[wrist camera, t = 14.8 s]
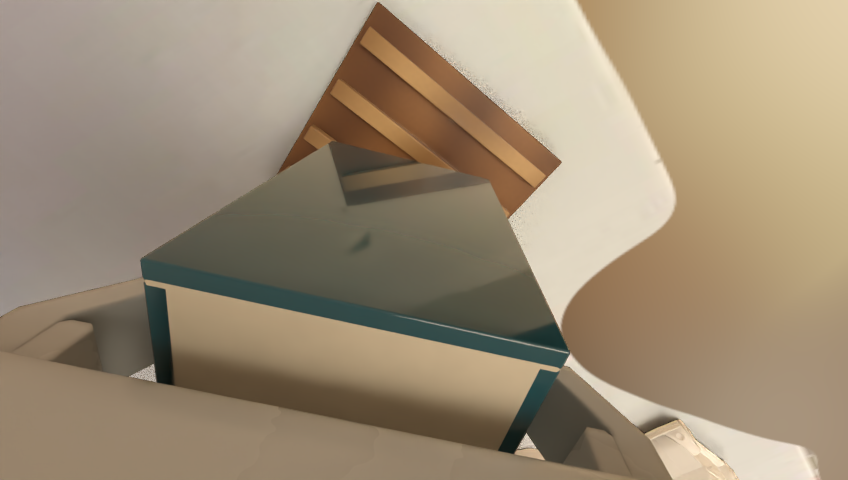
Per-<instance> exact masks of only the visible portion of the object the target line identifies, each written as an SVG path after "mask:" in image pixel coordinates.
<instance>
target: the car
mask: <svg viewBox="0 0 848 480" xmlns="http://www.w3.org/2000/svg"><path fill="white" fill-rule="evenodd" d="M645 435H646V436H647V437H648V438H649V439H650V440H651V442H652V444H653V446H654V447H655V449H656V451H657V453H658V454H659V456H660V458H661V460H662V461H663V463H664V465H665V467H666V469H667V470H668V472H669V474H670V476H671V477H672V479H673V480H739V479H738V477H737V476H736V474H735V473H734V471H733V469H731V468H730V467H729V465H728V464H727V463H726V462H725V461H724V460H721V459H719V458H718V457H717V456H716V455H714V454H713V453H712V452H710V451H709V450H708V449H707V448H705V447H704V446H703V445H702V444H700V443H699V442H698V441H697V440H696V439H695V438H694V436H693V435H692V433H691V431H690V430H689V429H688V428H687V427H686V425H685V424H684V423H683V422H682V421H681V420H677V421H673V422H670V423H668V424H665V425H663V426H660V427H658V428H656V429H654V430H651V431H649V432H647V433H645Z"/></svg>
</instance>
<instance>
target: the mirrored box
mask: <svg viewBox="0 0 848 480" xmlns="http://www.w3.org/2000/svg"><path fill="white" fill-rule="evenodd" d="M140 262H141V269H142V277H143V279H144V283H143V284H144V292H145V299H146V307H147V314H148V322H149V329H150V337H151V344H152V352H153V359H154V367H155V374H156V382H157V383H162V384H167V385H172V386H177V387H182V388H187V389H192V390H197V391H202V392H207V393H212V394H217V395H222V396H227V397H232V398H237V399H242V400H247V401H252V402H257V403H262V404H267V405H272V406H277V407H282V408H287V409H292V410H297V411H302V412H307V413H312V414H317V415H322V416H327V417H332V418H337V419H342V420H347V421H352V422H357V423H362V424H367V425H372V426H377V427H382V428H387V429H392V430H397V431H402V432H407V433H412V434H417V435H422V436H426V437H431V438H436V439H441V440H446V441H451V442H456V443H461V444H466V445H471V446H476V447H481V448H486V449H490V450H495V451H500V452H505V453H510V454H515V452H516V450H517V448H518V447H519V445H520V443H521V441H522V439H523V438H524V436H525V434H526V432H527V430H528V429H529V427H530V425H531V423H532V421H533V420H534V418H535V416H536V414H537V412H538V411H539V409H540V407H541V405H542V403H543V402H544V400H545V398H546V396H547V394H548V393H549V391H550V389H551V387H552V385H553V384H554V382H555V380H556V378H557V376H558V374H559V373H560V369H561V368H562V367H563V365H564V364H565V362H566V360H567V358H568V356H569V355H570V350H569V348H568V346H567V344H566V341H565V339H564V337H563V335H562V333H561V331H560V329H559V327H558V325H557V322H556V320H555V318H554V316H553V314H552V312H551V310H550V308H549V305H548V303H547V301H546V299H545V297H544V295H543V293H542V291H541V289H540V286H539V284H538V282H537V280H536V278H535V276H534V274H533V272H532V269H531V267H530V265H529V263H528V261H527V259H526V257H525V255H524V253H523V250H522V248H521V246H520V244H519V242H518V240H517V238H516V236H515V233H514V231H513V229H512V227H511V225H510V223H509V221H508V219H507V217H506V214H505V212H504V210H503V208H502V206H501V204H500V202H499V200H498V197H497V195H496V193H495V191H494V189H493V187H492V185H491V183H490V181H489V179H485V178H481V177H477V176H473V175H469V174H465V173H461V172H457V171H453V170H449V169H445V168H441V167H437V166H433V165H429V164H424V163H420V162H416V161H412V160H408V159H404V158H400V157H396V156H392V155H388V154H384V153H380V152H376V151H372V150H368V149H364V148H360V147H356V146H352V145H348V144H344V143H339V142H335V141H331V142H330V143H328V144H326V145H325V146H323V147H321V148H320V149H318V150H317V151H315V152H313V153H312V154H310V155H308V156H307V157H305V158H303V159H302V160H300V161H299V162H297V163H295V164H294V165H292V166H290V167H289V168H287V169H286V170H284V171H282V172H281V173H279V174H277V175H276V176H274V177H273V178H271V179H269V180H268V181H266V182H264V183H263V184H261V185H259V186H258V187H256V188H255V189H253V190H251V191H250V192H248V193H246V194H245V195H243V196H242V197H240V198H238V199H237V200H235V201H233V202H232V203H230V204H229V205H227V206H225V207H224V208H222V209H220V210H219V211H217V212H215V213H214V214H212V215H211V216H209V217H207V218H206V219H204V220H202V221H201V222H199V223H198V224H196V225H194V226H193V227H191V228H189V229H188V230H186V231H185V232H183V233H181V234H180V235H178V236H176V237H175V238H173V239H171V240H170V241H168V242H167V243H165V244H163V245H162V246H160V247H158V248H157V249H155V250H154V251H152V252H150V253H149V254H147V255H145V256H144V257H142V258H141V261H140Z"/></svg>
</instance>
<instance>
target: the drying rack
mask: <svg viewBox="0 0 848 480" xmlns="http://www.w3.org/2000/svg"><path fill="white" fill-rule="evenodd" d="M331 141H335V142H339V143H344V144H348V145H352V146H356V147H360V148H364V149H368V150H372V151H376V152H380V153H384V154H388V155H392V156H396V157H400V158H404V159H408V160H412V161H416V162H420V163H424V164H429V165H433V166H437V167H441V168H445V169H449V170H453V171H457V172H461V173H465V174H469V175H473V176H477V177H481V178H485V179H489V181H490V183H491V185H492V187H493V189H494V191H495V193H496V195H497V197H498V200H499V202H500V204H501V206H502V208H503V210H504V212H505V214H506V217H507V219H508V218H509V217H510V216H511V215H512V214H513V213H514V212H515V211H516V210H517V209H518V208H519V207H520V206H521V205H522V204H523V203H524V202H525V201H526V200H527V199H528V197H529V196H530V195H531V194H532V193H533V192H534V191H535V190H536V189H537V188H538V187H539V186H540V185H541V184H542V183H543V182H544V181H545V180H546V179H547V178H548V176H549V175H550V174H551V173H552V172H553V171H554V170H555V169H556V168H557V167H558V166H559V165H560V164H561V163H562V162H561V161H560V160H559V159H558V158H557V157H556V156H555V155H553V154H552V153H551V152H550V151H549V150H548V149H547V148H545V147H544V146H543V145H542V144H541V143H540V142H539V141H537V140H536V139H535V138H534V137H533V136H532V135H531V134H529V133H528V132H527V131H526V130H525V129H524V128H523V127H521V126H520V125H519V124H518V123H517V122H516V121H515V120H513V119H512V118H511V117H510V116H509V115H508V114H506V113H505V112H504V111H503V110H502V109H501V108H500V107H498V106H497V105H496V104H495V103H494V102H493V101H492V100H490V99H489V98H488V97H487V96H486V95H485V94H484V93H482V92H481V91H480V90H479V89H478V88H477V87H476V86H474V85H473V84H472V83H471V82H470V81H469V80H468V79H466V78H465V77H464V76H463V75H462V74H461V73H460V72H458V71H457V70H456V69H455V68H454V67H453V66H451V65H450V64H449V63H448V62H447V61H446V60H445V59H443V58H442V57H441V56H440V55H439V54H438V53H437V52H435V51H434V50H433V49H432V48H431V47H430V46H429V45H427V44H426V43H425V42H424V41H423V40H422V39H421V38H419V37H418V36H417V35H416V34H415V33H414V32H413V31H411V30H410V29H409V28H408V27H407V26H406V25H405V24H403V23H402V22H401V21H400V20H399V19H398V18H397V17H395V16H394V15H393V14H392V13H391V12H390V11H388V10H387V9H386V8H385V7H384V6H383V5H382V4H380V3H379V2H378V3H377V4H376V5H375V7H374V9H373V11H372V12H371V14H370V16H369V17H368V19H367V21H366V23H365V24H364V26H363V28H362V29H361V31H360V33H359V35H358V36H357V38H356V40H355V41H354V43H353V45H352V47H351V48H350V50H349V52H348V53H347V55H346V57H345V59H344V60H343V62H342V64H341V65H340V67H339V69H338V71H337V72H336V74H335V76H334V77H333V79H332V81H331V83H330V84H329V86H328V88H327V89H326V91H325V93H324V95H323V96H322V98H321V100H320V101H319V103H318V105H317V107H316V108H315V110H314V112H313V113H312V115H311V117H310V119H309V120H308V122H307V124H306V125H305V127H304V129H303V131H302V132H301V134H300V136H299V137H298V139H297V141H296V143H295V144H294V146H293V148H292V149H291V151H290V153H289V155H288V156H287V158H286V160H285V161H284V163H283V165H282V167H281V168H280V170H279V172H278V173H277V174H279V173H281V172H282V171H284V170H286V169H287V168H289V167H290V166H292V165H294V164H295V163H297V162H299V161H300V160H302V159H303V158H305V157H307V156H308V155H310V154H312V153H313V152H315V151H317V150H318V149H320V148H321V147H323V146H325V145H326V144H328V143H330V142H331Z"/></svg>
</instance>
